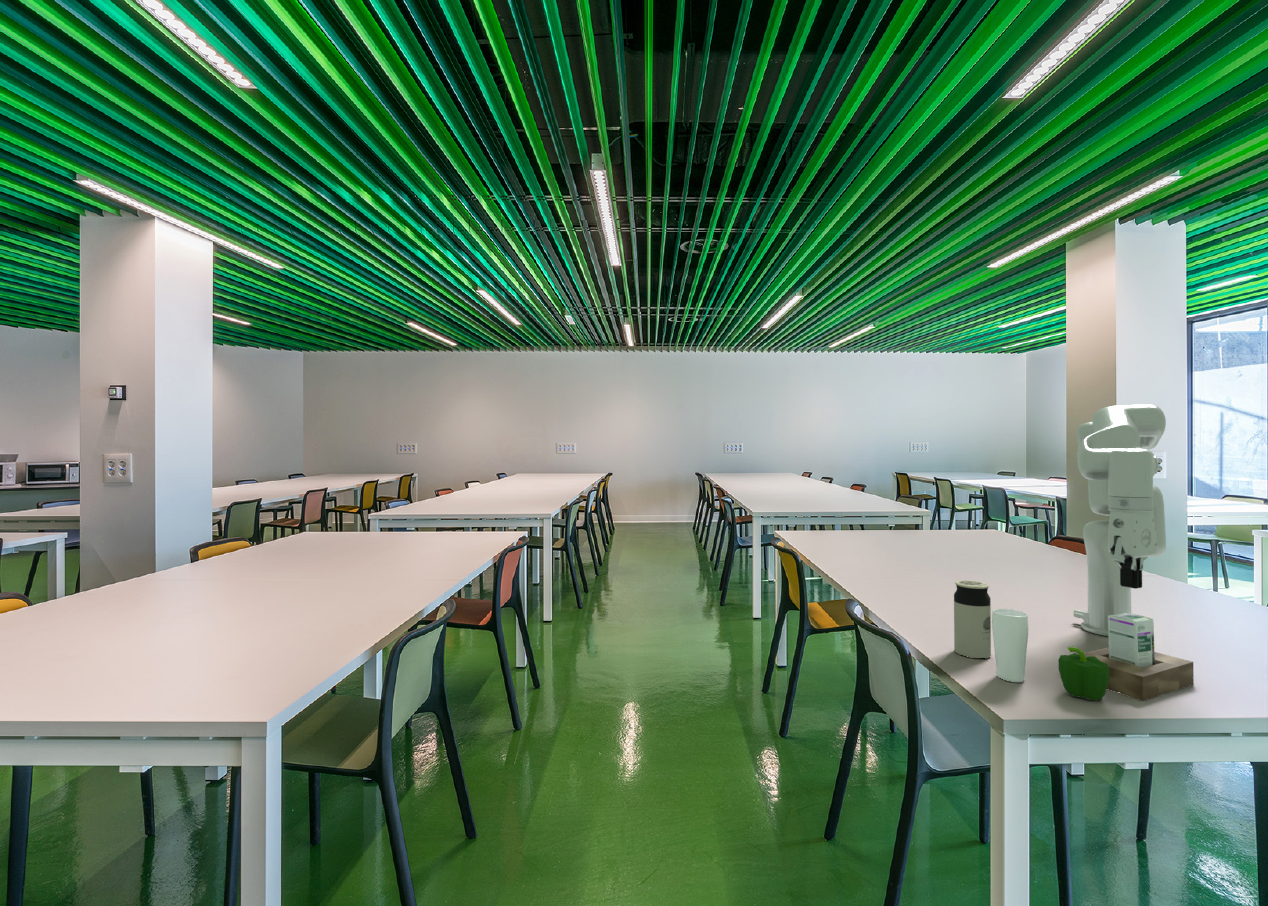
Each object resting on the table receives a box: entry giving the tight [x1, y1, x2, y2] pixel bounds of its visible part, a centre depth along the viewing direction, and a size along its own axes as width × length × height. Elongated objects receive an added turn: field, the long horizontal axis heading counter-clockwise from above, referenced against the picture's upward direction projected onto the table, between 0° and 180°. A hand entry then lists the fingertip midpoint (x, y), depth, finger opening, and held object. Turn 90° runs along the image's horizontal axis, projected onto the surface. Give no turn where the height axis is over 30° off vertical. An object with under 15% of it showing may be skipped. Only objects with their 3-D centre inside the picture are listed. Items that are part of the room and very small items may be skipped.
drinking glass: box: [991, 608, 1029, 683], centre depth 127 cm, size 7×7×15 cm
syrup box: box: [1107, 613, 1155, 668], centre depth 125 cm, size 6×6×14 cm
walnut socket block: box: [1084, 646, 1195, 702], centre depth 125 cm, size 13×20×5 cm, turn 113°
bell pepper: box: [1057, 646, 1110, 701], centre depth 118 cm, size 8×8×10 cm
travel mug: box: [953, 579, 992, 659], centre depth 142 cm, size 8×8×18 cm
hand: (1131, 586), depth 125 cm, fingers closed
